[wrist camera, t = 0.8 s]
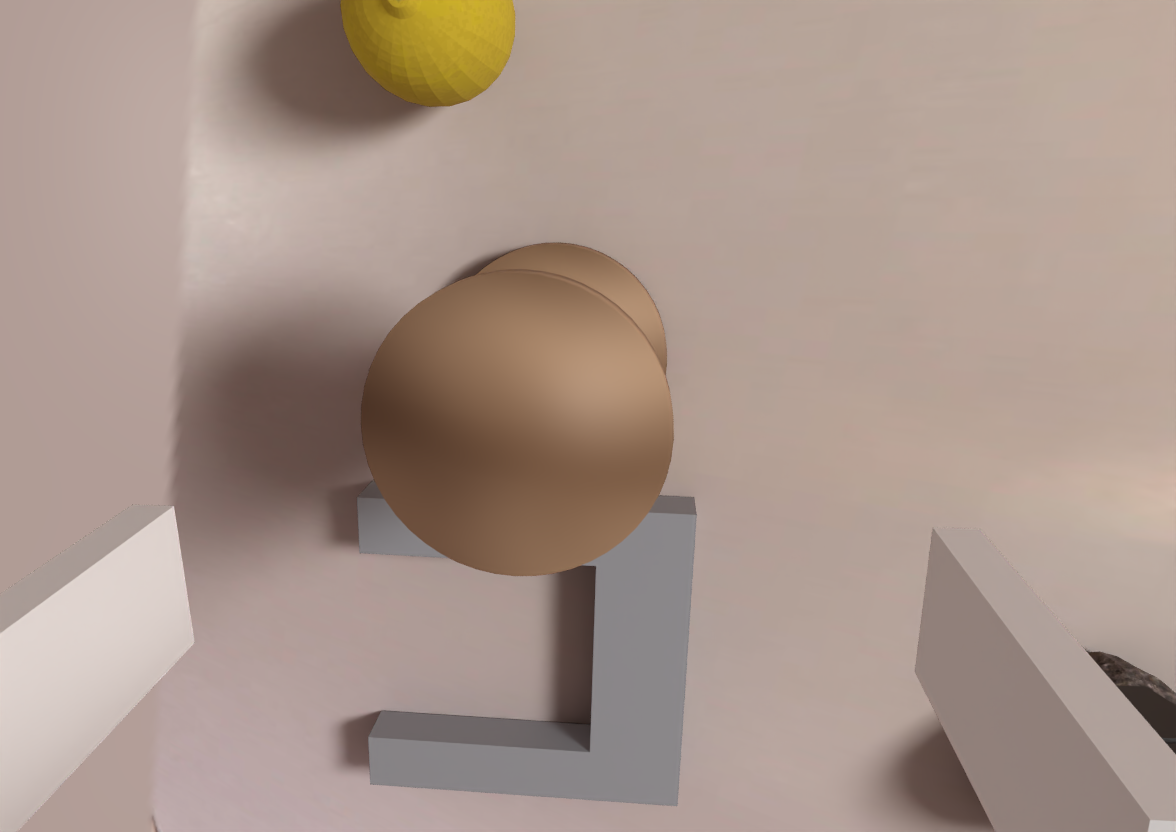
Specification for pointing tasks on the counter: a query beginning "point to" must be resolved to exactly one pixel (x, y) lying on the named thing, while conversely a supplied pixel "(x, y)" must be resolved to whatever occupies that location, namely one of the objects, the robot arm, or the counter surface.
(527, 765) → the notch board
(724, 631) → the counter surface
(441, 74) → the lemon
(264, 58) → the counter surface
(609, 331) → the bobbin
